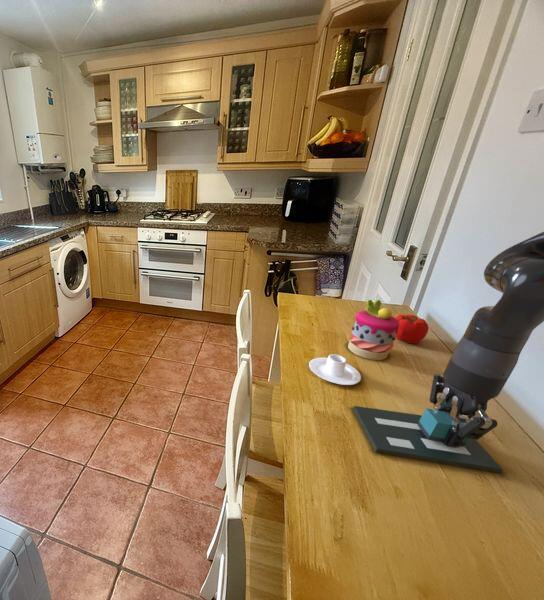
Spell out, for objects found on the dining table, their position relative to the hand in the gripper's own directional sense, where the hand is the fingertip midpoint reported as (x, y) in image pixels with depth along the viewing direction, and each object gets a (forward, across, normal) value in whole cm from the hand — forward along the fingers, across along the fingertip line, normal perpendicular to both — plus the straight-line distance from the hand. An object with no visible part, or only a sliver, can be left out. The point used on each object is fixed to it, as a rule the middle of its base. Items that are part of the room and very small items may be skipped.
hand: (442, 435), depth 63 cm
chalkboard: (+1, 0, +4) cm, 4 cm away
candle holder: (+2, +20, +14) cm, 24 cm away
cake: (+1, +34, +1) cm, 34 cm away
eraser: (0, 0, 0) cm, 1 cm away
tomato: (+1, +44, -13) cm, 46 cm away
